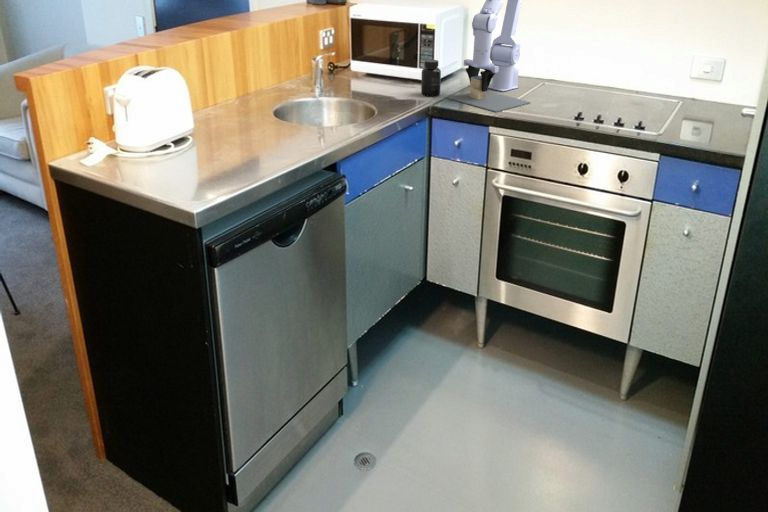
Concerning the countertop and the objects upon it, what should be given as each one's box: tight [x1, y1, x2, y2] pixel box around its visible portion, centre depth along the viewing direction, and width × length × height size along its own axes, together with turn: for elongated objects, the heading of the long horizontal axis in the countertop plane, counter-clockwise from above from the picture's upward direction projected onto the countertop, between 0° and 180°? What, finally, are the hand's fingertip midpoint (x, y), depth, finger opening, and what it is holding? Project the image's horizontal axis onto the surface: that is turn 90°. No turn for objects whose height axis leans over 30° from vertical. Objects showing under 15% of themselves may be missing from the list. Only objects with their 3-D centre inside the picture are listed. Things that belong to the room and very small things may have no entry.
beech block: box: [469, 74, 486, 99], centre depth 249 cm, size 4×4×7 cm
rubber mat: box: [448, 90, 531, 113], centre depth 248 cm, size 18×22×1 cm
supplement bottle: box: [420, 59, 442, 98], centre depth 252 cm, size 7×7×12 cm
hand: (479, 89), depth 250 cm, fingers open, 5 cm apart
